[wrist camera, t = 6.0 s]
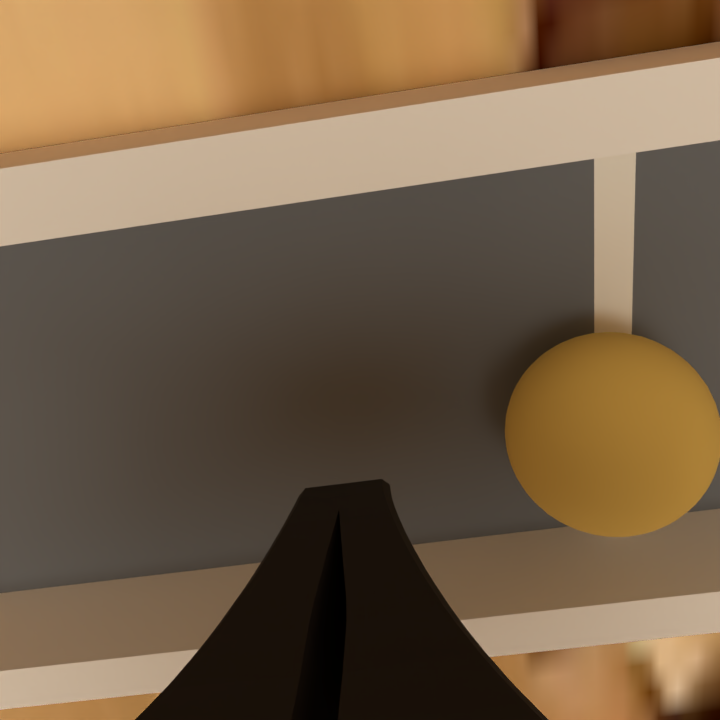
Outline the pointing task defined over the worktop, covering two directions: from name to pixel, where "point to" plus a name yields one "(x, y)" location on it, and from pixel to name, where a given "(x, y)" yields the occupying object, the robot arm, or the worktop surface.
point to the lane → (341, 355)
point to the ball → (613, 434)
